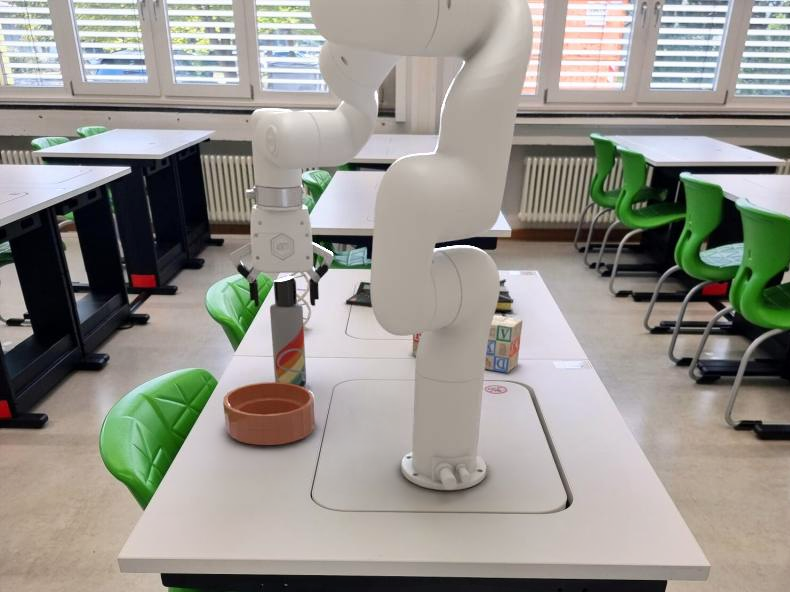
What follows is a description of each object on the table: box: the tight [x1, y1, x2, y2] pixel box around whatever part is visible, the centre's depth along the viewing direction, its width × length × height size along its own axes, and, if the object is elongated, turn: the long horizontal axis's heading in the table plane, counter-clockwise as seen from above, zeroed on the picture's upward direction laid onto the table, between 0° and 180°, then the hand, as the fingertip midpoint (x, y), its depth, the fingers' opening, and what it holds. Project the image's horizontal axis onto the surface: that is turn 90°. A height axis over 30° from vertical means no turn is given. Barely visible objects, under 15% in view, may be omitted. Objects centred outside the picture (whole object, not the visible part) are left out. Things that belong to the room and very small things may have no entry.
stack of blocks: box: [412, 314, 523, 374], centre depth 147 cm, size 21×6×12 cm, turn 62°
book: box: [495, 278, 514, 314], centre depth 188 cm, size 22×17×5 cm
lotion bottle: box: [269, 276, 307, 389], centre depth 130 cm, size 6×6×20 cm
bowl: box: [222, 381, 316, 446], centre depth 118 cm, size 14×14×6 cm
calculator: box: [345, 281, 372, 308], centre depth 188 cm, size 9×12×3 cm
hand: (284, 304), depth 127 cm, fingers open, 9 cm apart
